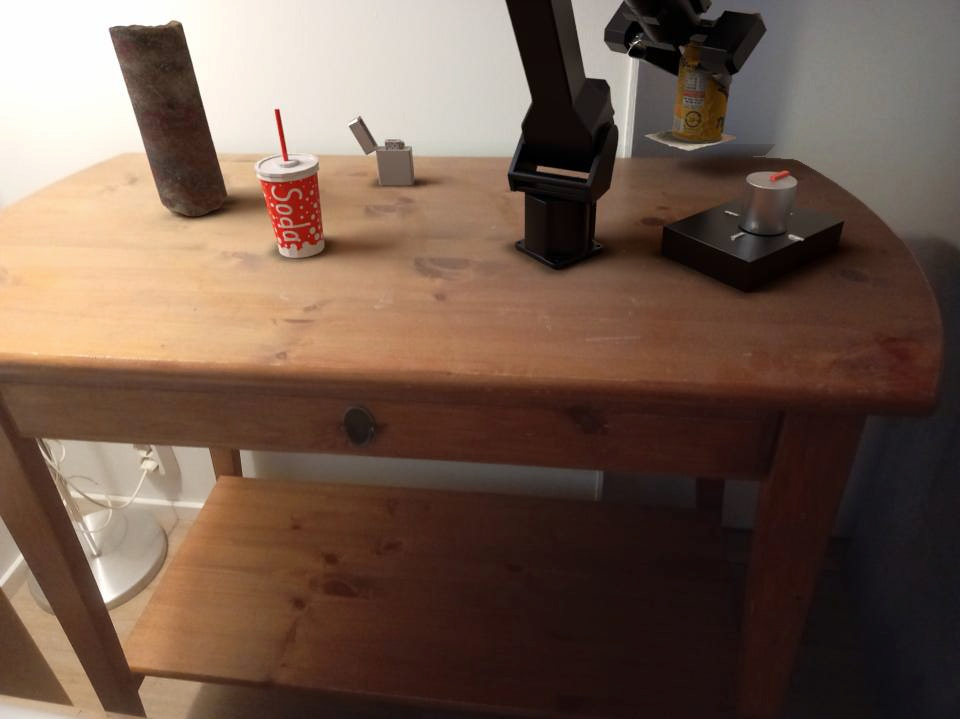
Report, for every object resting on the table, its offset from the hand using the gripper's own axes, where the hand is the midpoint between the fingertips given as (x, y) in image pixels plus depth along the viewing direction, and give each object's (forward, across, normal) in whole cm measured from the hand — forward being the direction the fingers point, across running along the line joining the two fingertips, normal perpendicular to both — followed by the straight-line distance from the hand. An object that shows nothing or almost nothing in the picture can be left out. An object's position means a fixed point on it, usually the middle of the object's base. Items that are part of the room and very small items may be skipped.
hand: (707, 80), depth 87 cm
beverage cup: (-27, +9, +42) cm, 51 cm away
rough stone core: (-31, +28, +46) cm, 62 cm away
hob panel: (-3, -20, +18) cm, 27 cm away
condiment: (+4, 0, +6) cm, 7 cm away
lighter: (-16, +20, +31) cm, 40 cm away
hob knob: (-5, -21, +16) cm, 27 cm away
